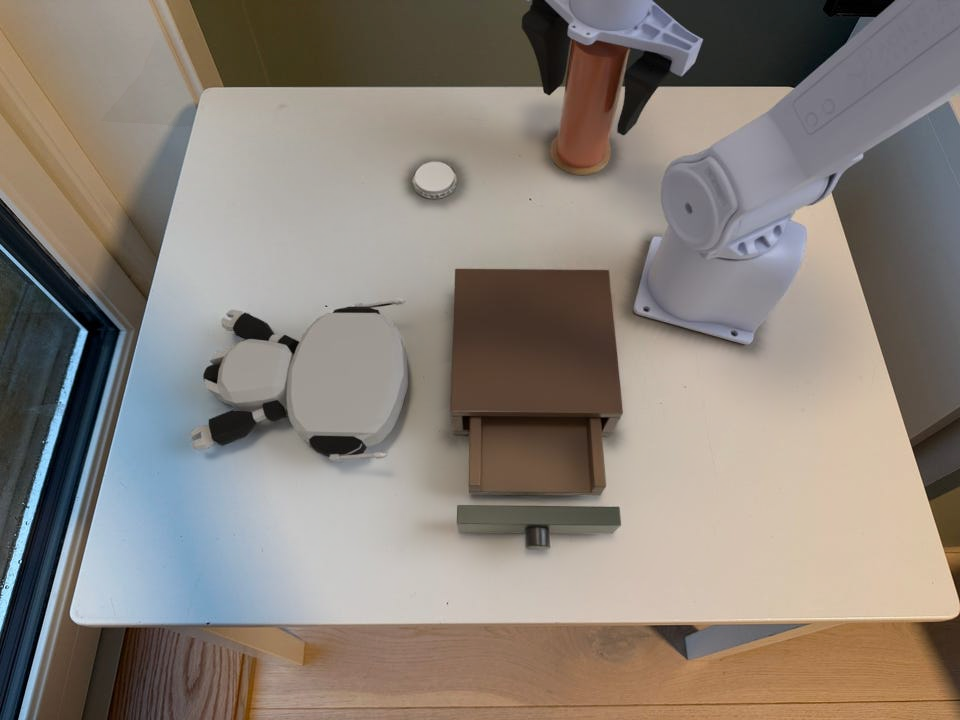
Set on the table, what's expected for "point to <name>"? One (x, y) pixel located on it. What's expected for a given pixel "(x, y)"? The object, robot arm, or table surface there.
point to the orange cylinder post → (590, 101)
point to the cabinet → (534, 346)
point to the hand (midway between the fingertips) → (589, 107)
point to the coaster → (573, 169)
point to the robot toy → (311, 381)
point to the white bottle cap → (434, 179)
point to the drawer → (536, 476)
